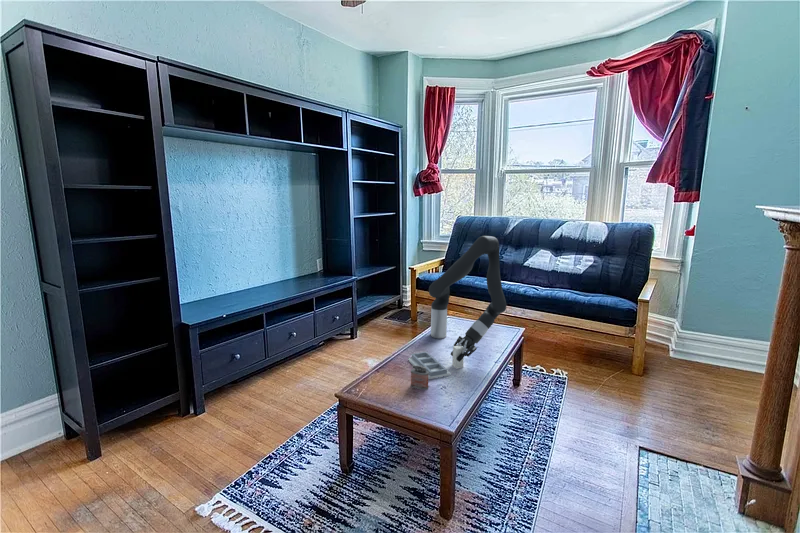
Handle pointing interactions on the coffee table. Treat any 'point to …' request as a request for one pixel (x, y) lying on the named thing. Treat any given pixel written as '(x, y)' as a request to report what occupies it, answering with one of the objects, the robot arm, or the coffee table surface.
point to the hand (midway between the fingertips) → (454, 357)
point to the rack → (429, 365)
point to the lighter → (419, 377)
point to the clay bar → (456, 352)
